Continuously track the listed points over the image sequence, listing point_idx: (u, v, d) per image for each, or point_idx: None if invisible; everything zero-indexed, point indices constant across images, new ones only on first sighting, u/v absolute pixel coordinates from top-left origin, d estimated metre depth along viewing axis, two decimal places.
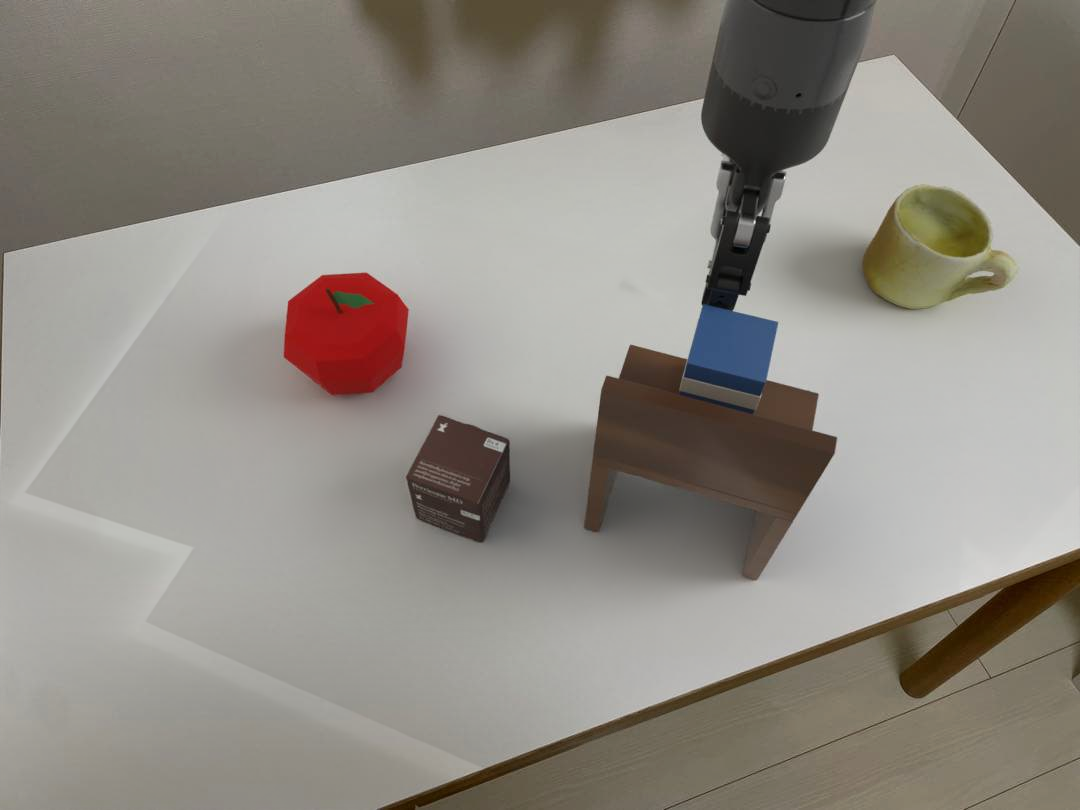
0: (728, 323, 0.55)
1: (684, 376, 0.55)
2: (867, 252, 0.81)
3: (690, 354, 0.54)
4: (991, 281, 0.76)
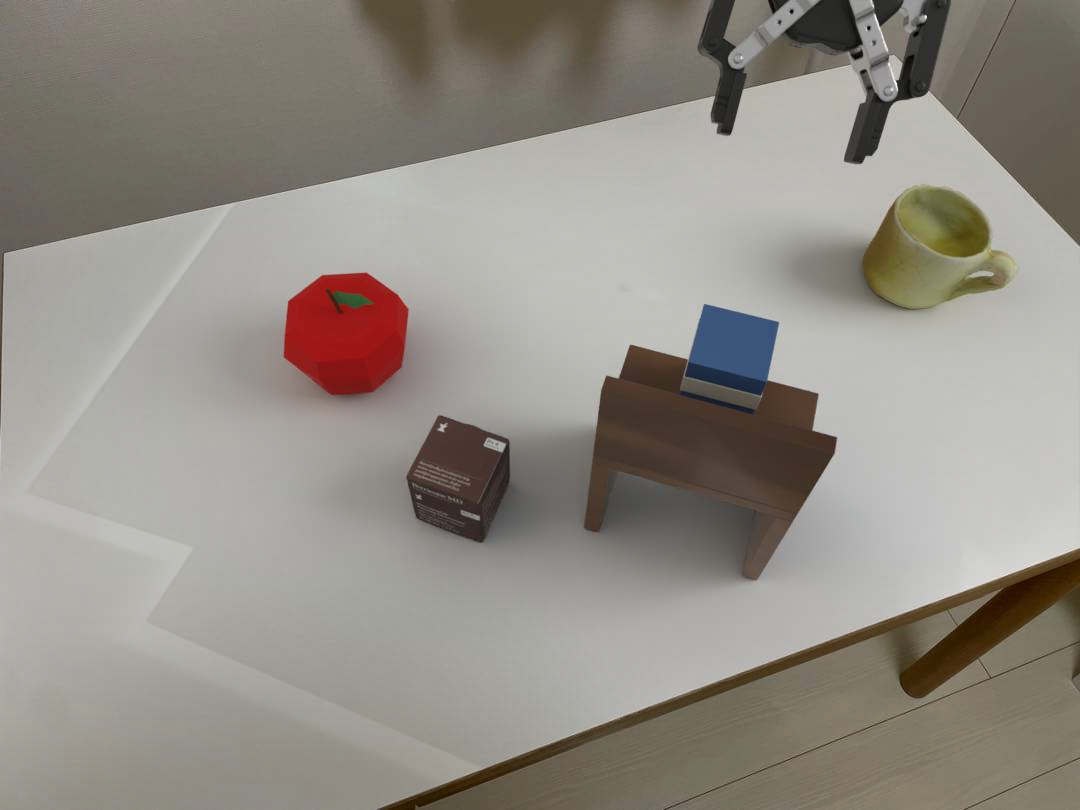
0: (729, 323, 0.55)
1: (685, 375, 0.55)
2: (867, 252, 0.81)
3: (691, 353, 0.54)
4: (991, 281, 0.76)
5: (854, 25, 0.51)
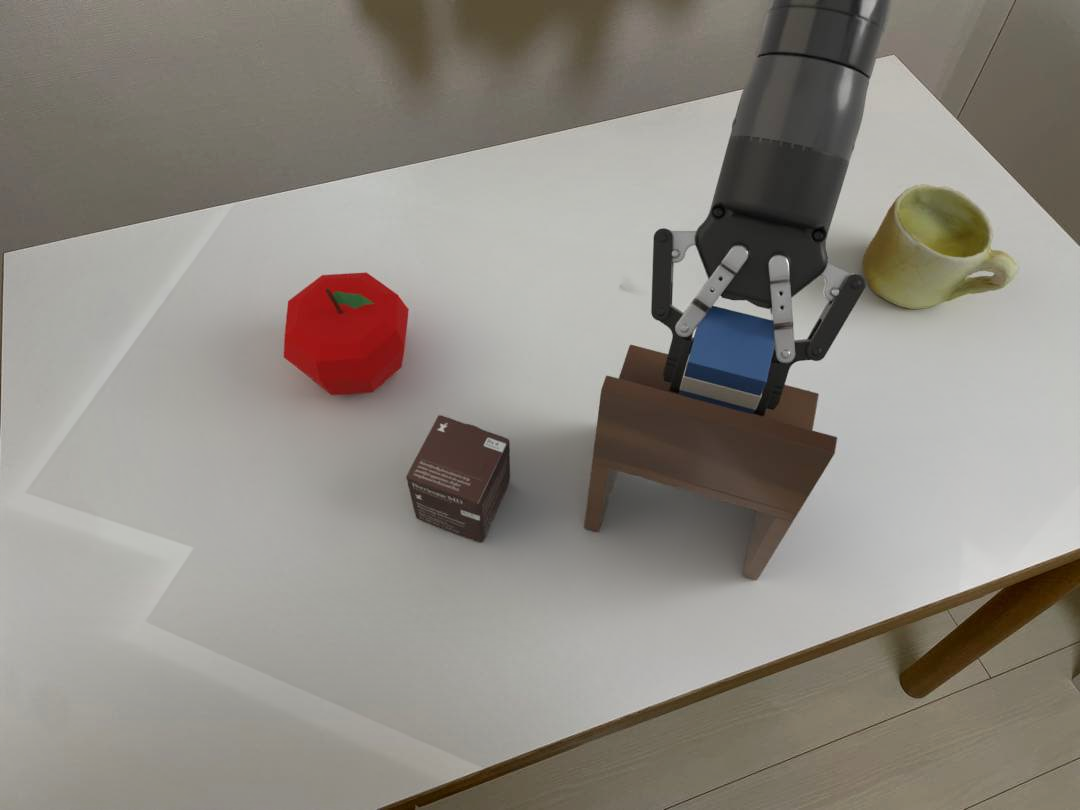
0: (729, 323, 0.55)
1: (685, 375, 0.55)
2: (867, 252, 0.81)
3: (691, 353, 0.54)
4: (991, 281, 0.76)
5: (770, 286, 0.53)
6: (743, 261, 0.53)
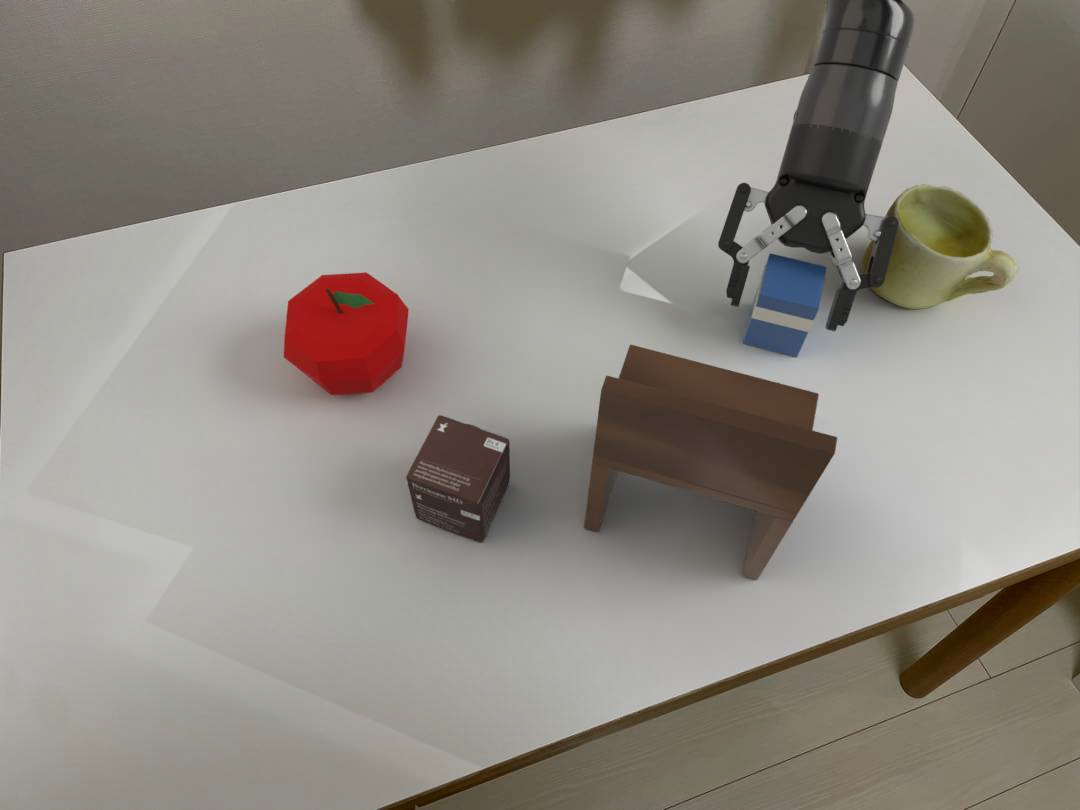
0: (789, 267, 0.74)
1: (756, 305, 0.73)
2: (867, 252, 0.81)
3: (762, 288, 0.72)
4: (991, 281, 0.76)
5: (827, 237, 0.72)
6: (803, 217, 0.71)
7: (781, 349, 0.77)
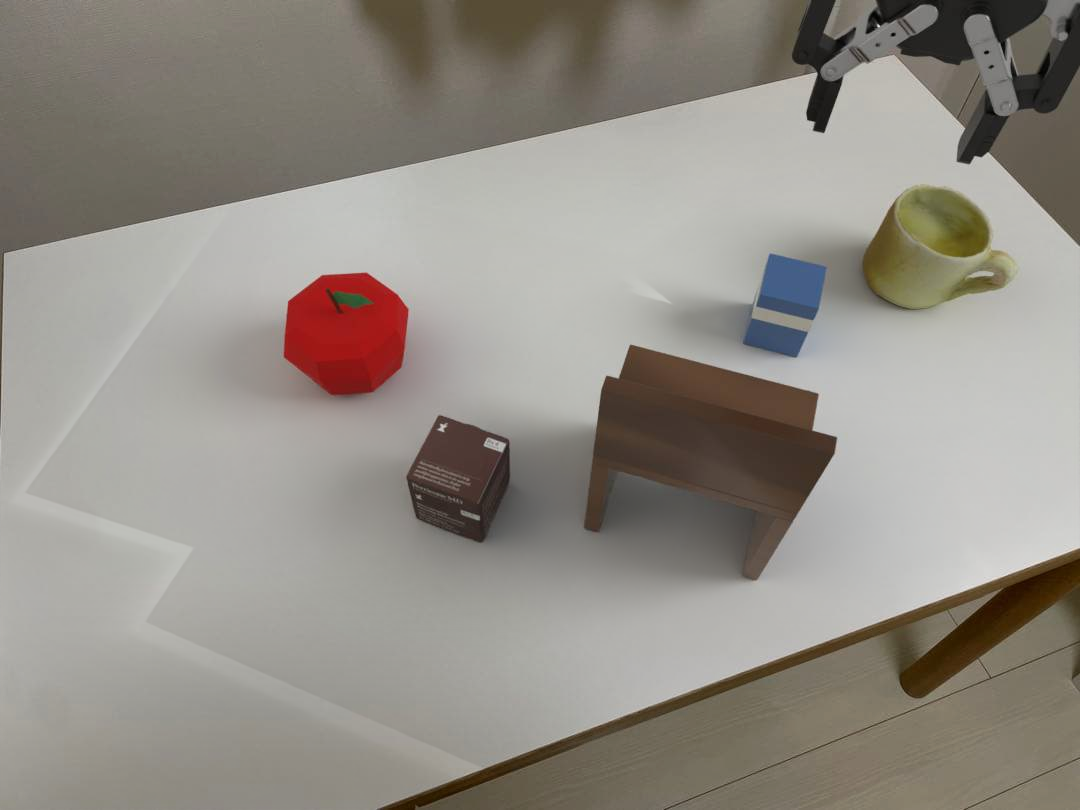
0: (789, 267, 0.74)
1: (756, 305, 0.73)
2: (867, 252, 0.81)
3: (762, 288, 0.72)
4: (991, 281, 0.76)
5: None
6: (931, 23, 0.43)
7: (781, 349, 0.77)
